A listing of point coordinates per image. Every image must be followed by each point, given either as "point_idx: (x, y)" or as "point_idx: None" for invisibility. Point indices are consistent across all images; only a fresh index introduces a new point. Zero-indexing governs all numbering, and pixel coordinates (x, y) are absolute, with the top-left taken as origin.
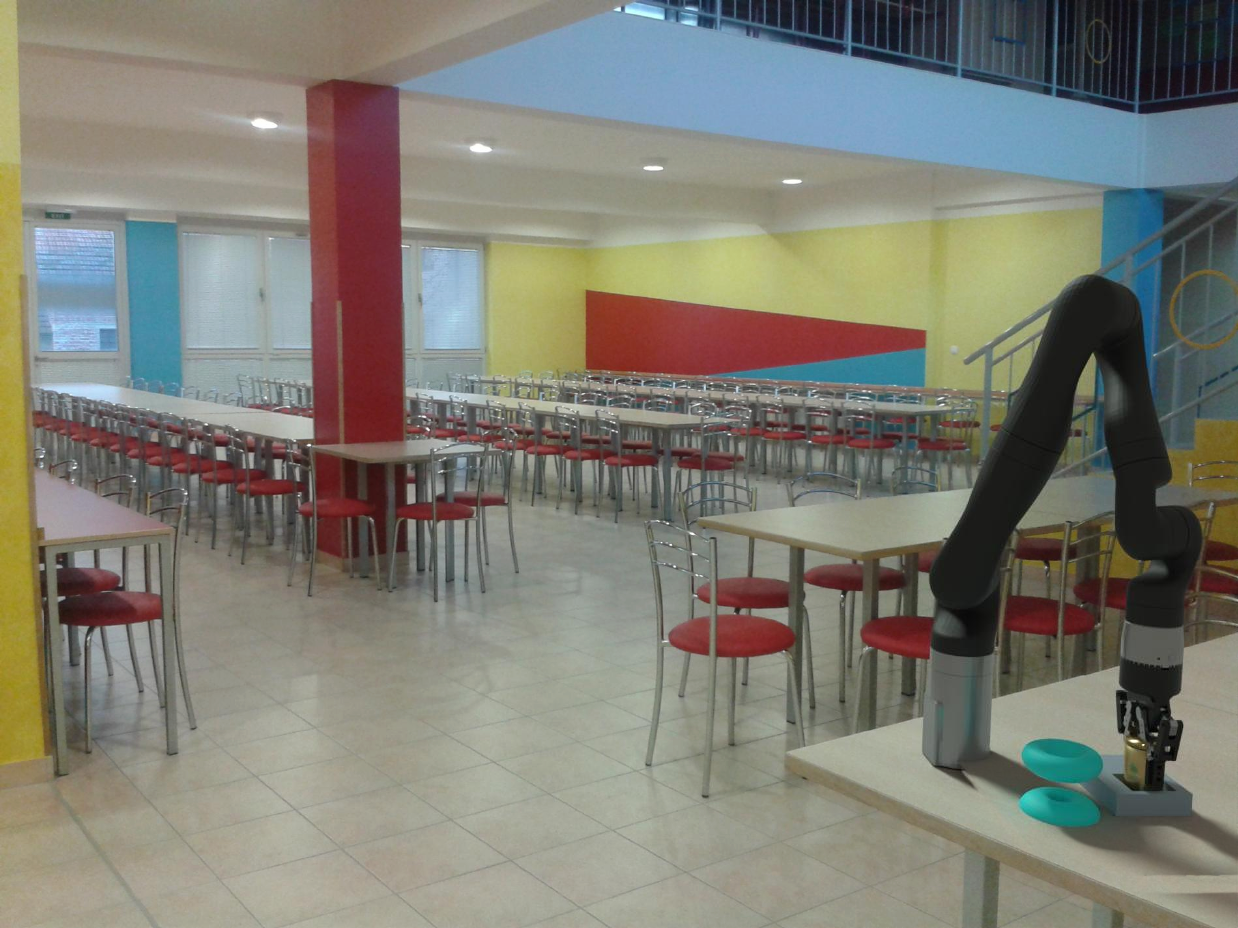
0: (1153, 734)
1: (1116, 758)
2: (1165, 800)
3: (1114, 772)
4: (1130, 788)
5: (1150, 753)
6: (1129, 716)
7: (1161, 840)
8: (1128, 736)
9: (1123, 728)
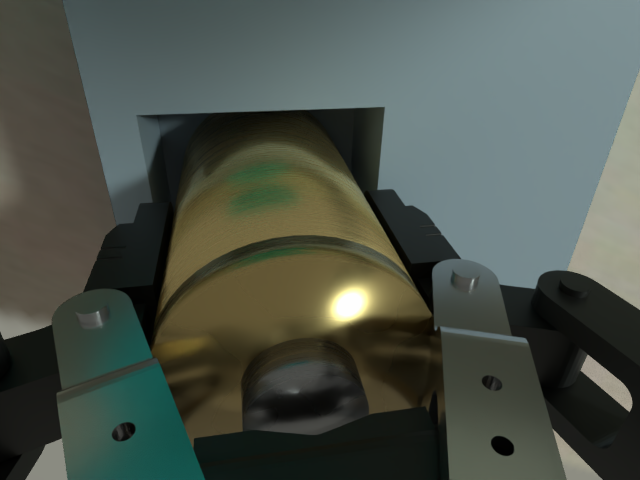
0: None
1: (549, 210)
2: None
3: (398, 131)
4: (221, 134)
5: (61, 333)
6: (466, 452)
7: (5, 129)
8: (384, 295)
9: (550, 314)
